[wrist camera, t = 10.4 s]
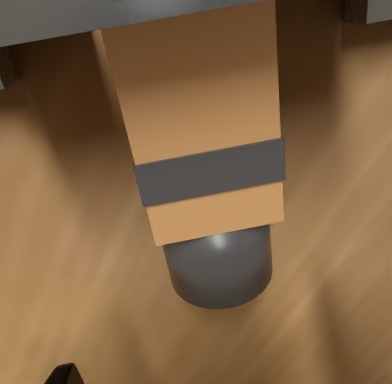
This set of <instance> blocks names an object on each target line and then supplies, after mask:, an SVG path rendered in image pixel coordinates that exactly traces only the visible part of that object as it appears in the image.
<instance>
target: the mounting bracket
mask: <svg viewBox="0 0 392 384" xmlns="http://www.w3.org/2000/svg"><path fill="white" fill-rule="evenodd" d="M259 1H265V0H0V90H1V89H5V88H7V87H8V86H10V85H12V84H14V83H15V82H17V81H19V80H20V78H19V76H18V73H17V70H16V68H15V65H14V62H13V60H12V57H11V54H10V52H9V49H8V45H14V44H20V43H26V42H31V41H37V40H43V39H48V38H54V37H60V36H65V35H71V34H77V33H83V32H88V31H94V30H100V29H105V28H111V27H117V26H122V25H128V24H134V23H140V22H145V21H151V20H157V19H162V18H168V17H174V16H179V15H185V14H191V13H197V12H202V11H208V10H214V9H219V8H225V7H231V6H237V5H242V4H248V3H254V2H259ZM386 20H392V0H344V22H350V23H361V24H369V23H375V22H380V21H386Z"/></svg>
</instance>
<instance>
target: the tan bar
mask: <svg viewBox="0 0 392 384" xmlns="http://www.w3.org/2000/svg"><path fill="white" fill-rule="evenodd" d="M100 30H101V33H102V37H103V41H104V45H105V49H106V53H107V57H108V61H109V65H110V69H111V72H112V76H113V80H114V84H115V88H116V92H117V96H118V100H119V104H120V108H121V112H122V115H123V119H124V123H125V127H126V131H127V135H128V139H129V143H130V147H131V151H132V155H133V158H134V163H133V168H134V172H135V176H136V180H137V184H138V188H139V192H140V195H141V199H142V203H143V207H146V209H147V213H148V217H149V221H150V225H151V229H152V233H153V237H154V240H155V244H156V246H160V245H163V249H164V253H165V257H166V261H167V265H168V269H169V273H170V278H171V282H172V285H173V288H174V290H175V291H176V293H177V294H178V295H179V296H180V297H181V298H182V299H184V300H185V301H187V302H189V303H191V304H193V305H195V306H199V307H203V308H209V309H224V308H230V307H235V306H238V305H241V304H244V303H246V302H248V301H250V300H252V299H254V298H255V297H257V296H258V295H259V294H260V293H261V292H263V290H264V289H265V288H266V287H267V285H268V284H269V282H270V280H271V276H272V256H271V241H270V225H269V224H272V223H277V222H283V221H284V206H283V180H285V155H284V138H283V137H282V136H281V132H280V107H279V83H278V58H277V33H276V8H275V0H265V1H259V2H254V3H248V4H242V5H237V6H231V7H225V8H219V9H214V10H208V11H202V12H197V13H191V14H185V15H179V16H174V17H168V18H162V19H157V20H151V21H145V22H140V23H134V24H128V25H122V26H117V27H111V28H105V29H100Z"/></svg>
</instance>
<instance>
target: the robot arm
mask: <svg viewBox="0 0 392 384" xmlns="http://www.w3.org/2000/svg"><path fill="white" fill-rule="evenodd" d="M44 384H84V382H83V379H82V377H81V375H80V373H79V371H78V369H77V367H76V365H75V364H74V363H67V364H62V365H59V366H57V367H56V368H55V369H54V370H53V372H52V373H51V375H50V376H49V378H48V379H47V380H46V382H45V383H44Z"/></svg>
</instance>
